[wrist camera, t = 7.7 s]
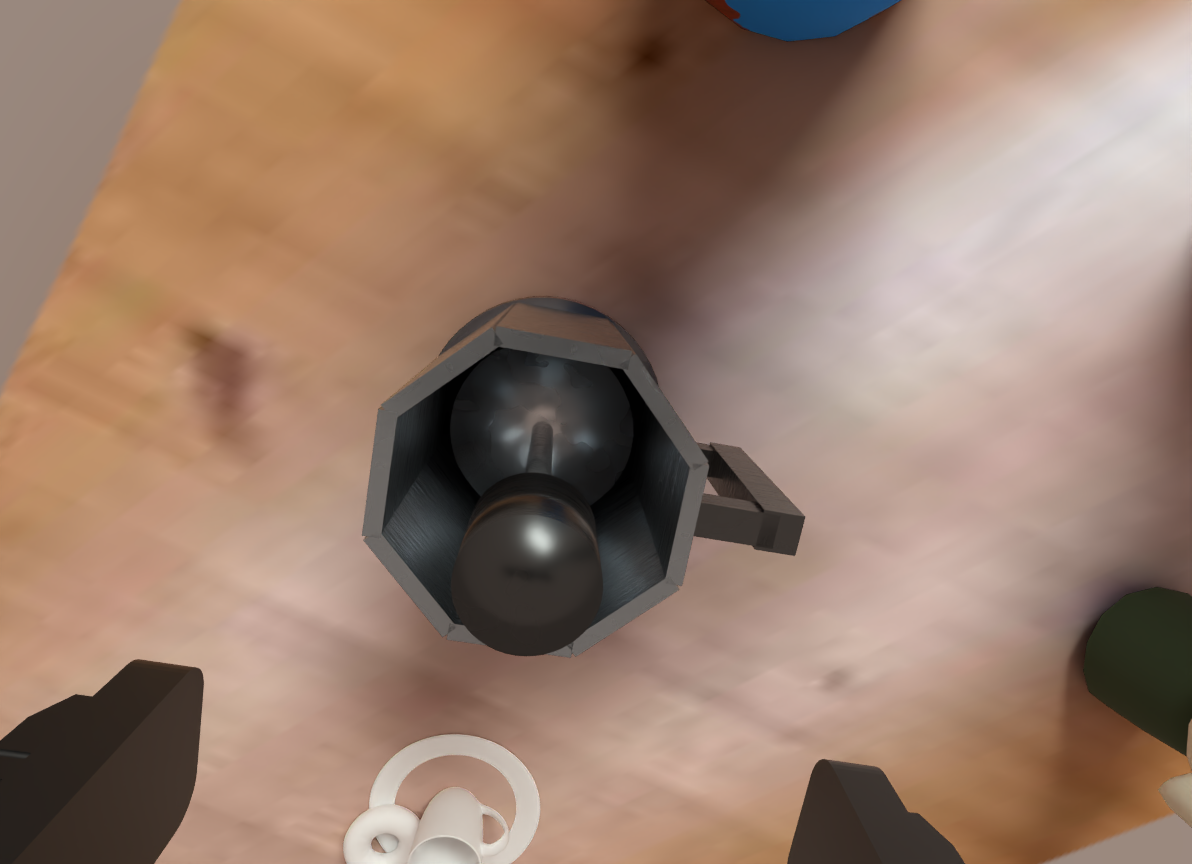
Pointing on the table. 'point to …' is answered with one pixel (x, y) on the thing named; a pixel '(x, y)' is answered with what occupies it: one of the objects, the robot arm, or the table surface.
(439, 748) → the teacup and saucer
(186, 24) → the table surface
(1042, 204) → the table surface
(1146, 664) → the character mug
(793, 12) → the thermos
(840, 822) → the robot arm
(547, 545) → the plunger
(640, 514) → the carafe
